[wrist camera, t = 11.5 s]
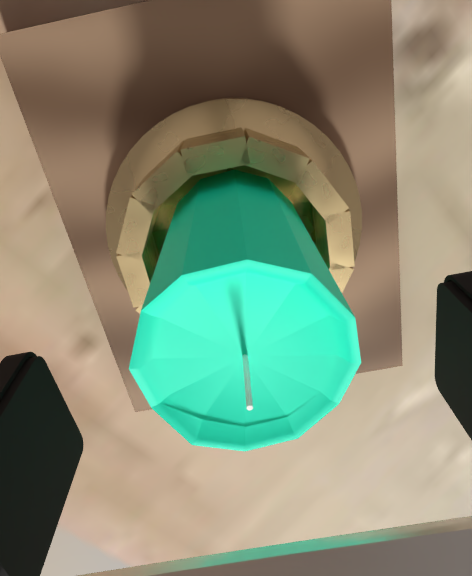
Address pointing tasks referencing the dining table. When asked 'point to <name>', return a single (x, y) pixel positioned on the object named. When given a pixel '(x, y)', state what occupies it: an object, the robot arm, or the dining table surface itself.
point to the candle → (242, 320)
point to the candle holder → (221, 158)
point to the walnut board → (202, 87)
